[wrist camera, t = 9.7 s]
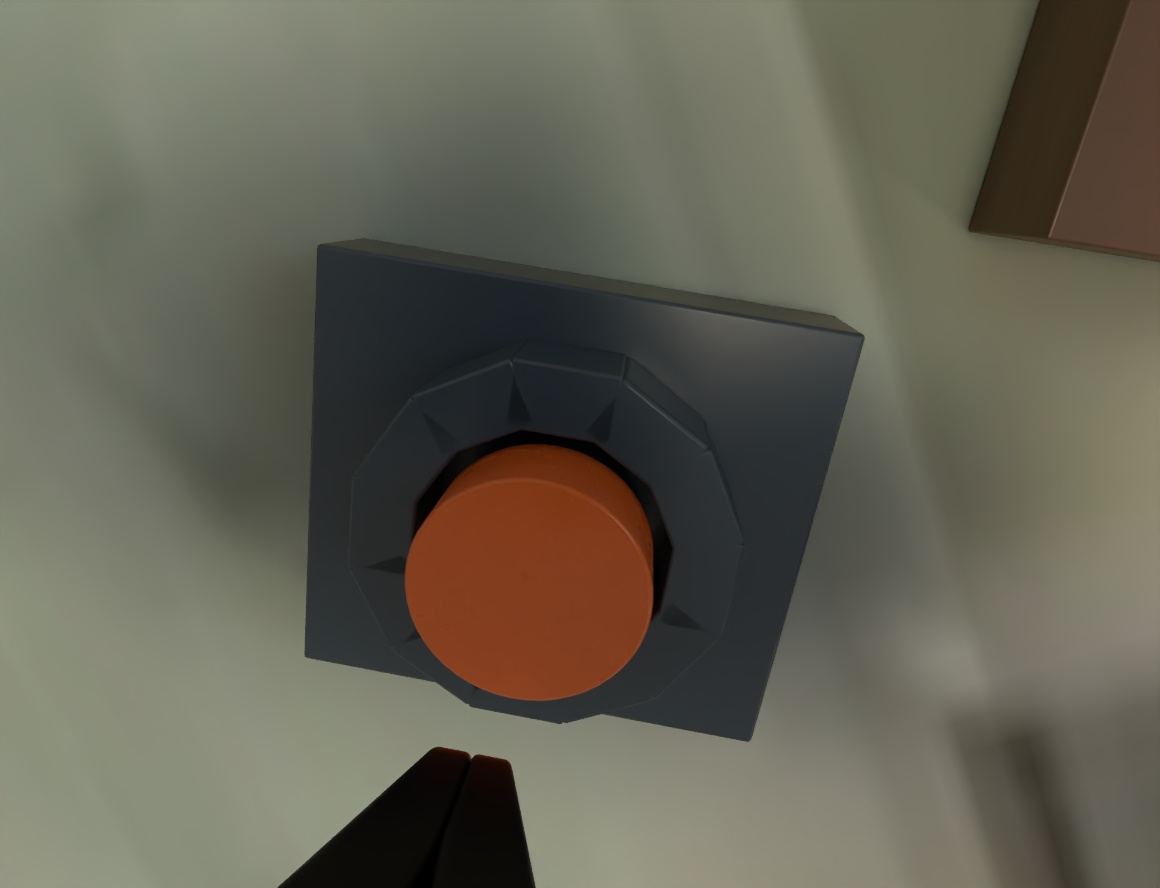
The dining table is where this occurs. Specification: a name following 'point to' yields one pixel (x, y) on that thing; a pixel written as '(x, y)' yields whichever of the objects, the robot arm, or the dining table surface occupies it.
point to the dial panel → (1082, 133)
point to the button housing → (585, 424)
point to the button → (533, 573)
